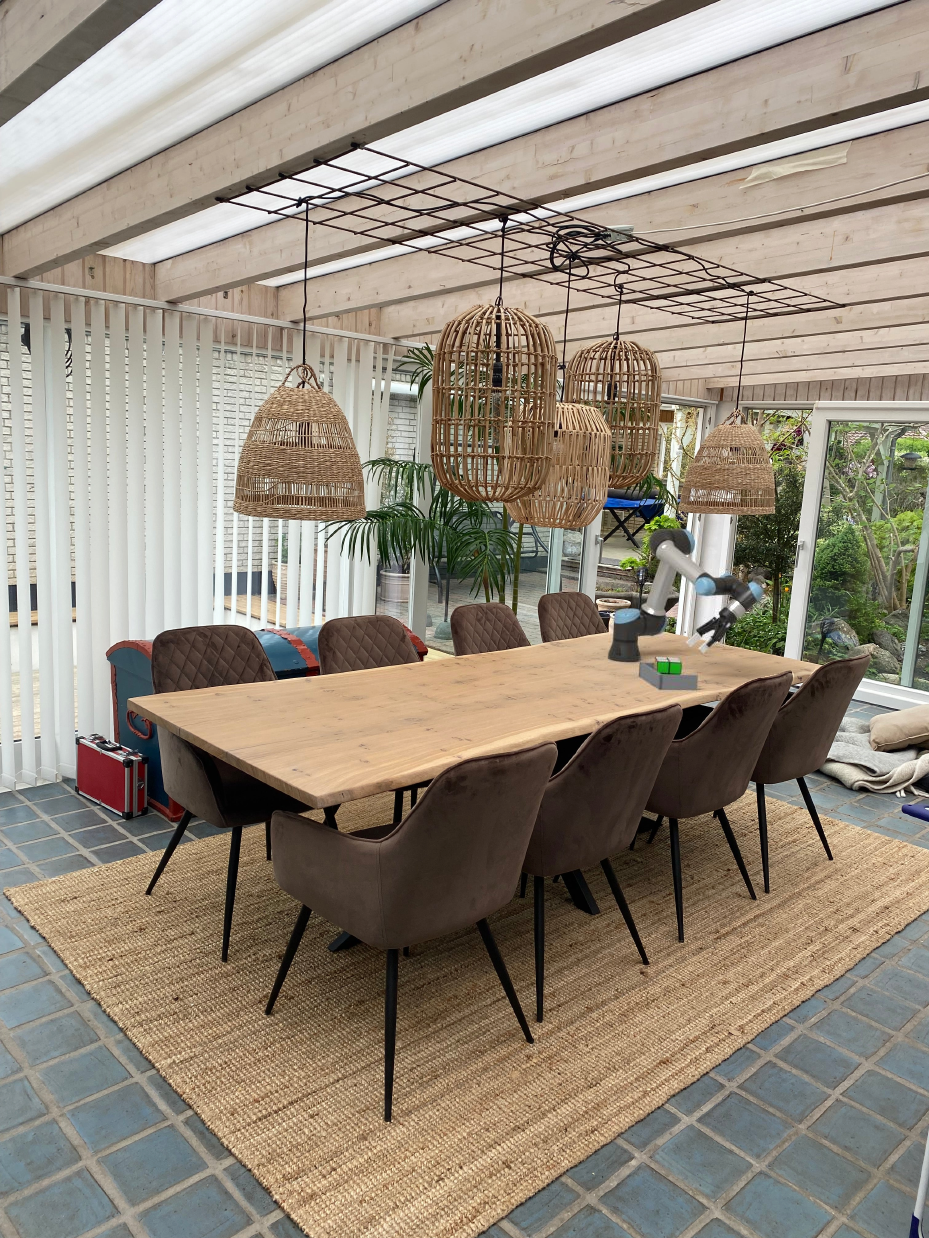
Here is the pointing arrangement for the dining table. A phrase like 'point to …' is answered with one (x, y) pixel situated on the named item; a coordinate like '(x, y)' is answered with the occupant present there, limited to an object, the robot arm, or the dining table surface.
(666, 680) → the grey u-shaped wall
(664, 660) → the puzzle cube
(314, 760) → the dining table surface
